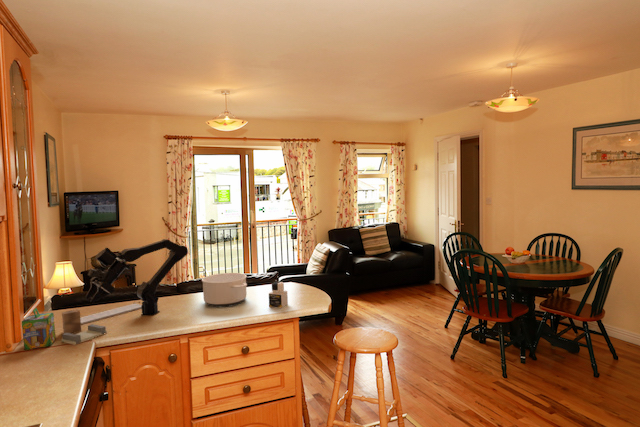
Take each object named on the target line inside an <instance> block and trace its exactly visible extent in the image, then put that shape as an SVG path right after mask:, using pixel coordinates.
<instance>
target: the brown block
mask: <svg viewBox="0 0 640 427" xmlns="http://www.w3.org/2000/svg"><path fill="white" fill-rule="evenodd" d="M61 316H62V317H61V318H62V319H61V320H62V330H63V334H64V333H72V334H75V333H74V332H76V333H80V332H82V325H81V320H80V318H81V310H79V309H78V308H76V309H72V310H67V311H62V312H61ZM79 331H80V332H79Z"/></svg>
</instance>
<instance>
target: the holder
mask: <svg viewBox="0 0 640 427" xmlns="http://www.w3.org/2000/svg"><path fill="white" fill-rule="evenodd" d="M106 329H107V328H106V326H104V325H98V324H94V323H92V324H91V323H90V324H88V325H87V330H84V331H80V332H77V333H64V332H63V333H62V334H61V336H62V337H61V339H60V341H61V343H65V344H70V345H78V344H81V343H83V342H87V341H89V340H92V339H95V338H97V336H98V337H100V336H99V335H101V336H103V335H105V334H104V333H106V334H108V331H107V330H106ZM102 334H103V335H102ZM94 337H95V338H94Z"/></svg>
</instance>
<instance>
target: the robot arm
mask: <svg viewBox="0 0 640 427" xmlns="http://www.w3.org/2000/svg"><path fill="white" fill-rule="evenodd" d="M163 249H166V250H168V251H170V252H169V254H168V258H167V259H166V260H165V261H164V263H163V264H162V265H161V267H160V268H158V270H156V272H155V273H154V274H153V276H152V277H151V278H150V280H148V281H142V282H141V284H140V286H138V287H137V291H136V295H137V297H138V298H139V299H140V300H141V301H142V304H141V305H142V309H141V314H140V316H141V317H142V316H145V317H146V316H150V317H151V316H155V315H157V314H158V313H160V312H161V311H160V310H159V307H158V302H159V297H158V296H157V295H155V294H156V292H157V289H158V286H159V284H161V282H162V281H163V280H164V278H165V277H166V276H167V274H169V272H170V271H171V270H172V268H173V267H175V265H176V264H177V263H178V262H180V261H181V260H183V259H185V257H186V256H187V255H188V252H189V250H188V248H187V246H186V245H182V244H178V243H175V242H173V241H171V240H170V239H166V238H163V239H161V240H159V241H155V242H151V243H150V244H145V245H142V246H139V247H131V248H124V249H122V250H121V252H117V253H114V252H113V251H112V250H111V249H110V248H108V247H105V248H104V249H102V250H101V251H99V252H98V253H97V254H96V256H95V258H94V259H96V260H97V261H98V262H99V263H100V264H102V265H104V267H107V266H109V267H108V268H107V269H104V270H102V269H99V268H96V269H93V268H89V271H88V273H87V276H89V277H91V279H90V280H89V281H90V282H89V284H90V287H89V290H88V291H87V293H86V295H85V299H86V300H88V299H90V298H91V297H92V298H91V299H90V301H89V302H90V303H91V304H93V303H96V302H97V301H99V300H101V299H102V298H105V297H107V296H110V295H113V293H114V292H115V287H114V286H113V283H114V282H115V281H116V280H119V277H120V275H121V274H122V273H123V271H124V270H131V263H132V262H135V261H137V260H138V259H140V258H141V257H143V256H144V255H148V254H151V253H154V252H157V251H160V250H163Z"/></svg>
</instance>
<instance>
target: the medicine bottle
mask: <svg viewBox="0 0 640 427" xmlns="http://www.w3.org/2000/svg"><path fill="white" fill-rule="evenodd" d="M288 304H289V300H288V290H285V284H284V282H283V281H274V282H272V283H271V292H269V293H268V306H269V308H275V307H276V308H277V309H283V308H284V307H285V306H288Z"/></svg>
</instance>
